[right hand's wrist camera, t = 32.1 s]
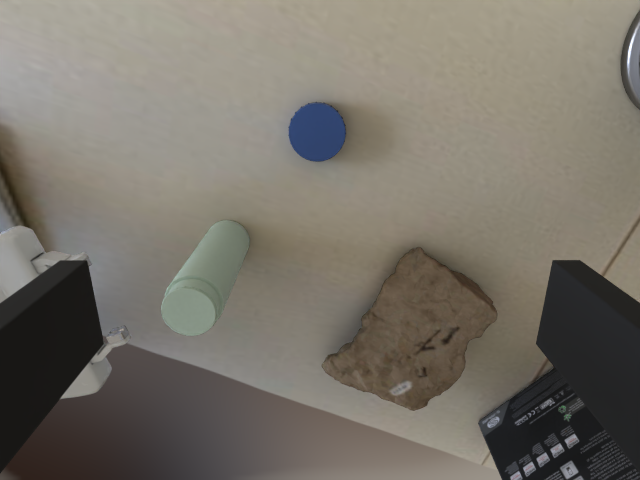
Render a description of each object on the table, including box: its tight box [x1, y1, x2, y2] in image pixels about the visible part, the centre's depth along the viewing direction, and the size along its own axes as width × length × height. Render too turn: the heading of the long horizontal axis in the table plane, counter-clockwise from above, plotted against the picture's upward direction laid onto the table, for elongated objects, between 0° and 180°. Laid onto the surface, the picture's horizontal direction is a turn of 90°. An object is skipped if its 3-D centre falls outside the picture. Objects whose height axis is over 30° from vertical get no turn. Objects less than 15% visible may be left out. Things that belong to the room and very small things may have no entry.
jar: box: [161, 220, 250, 336], centre depth 47 cm, size 5×5×18 cm
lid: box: [289, 102, 346, 161], centre depth 50 cm, size 6×6×2 cm
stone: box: [322, 247, 497, 411], centre depth 57 cm, size 21×15×6 cm
